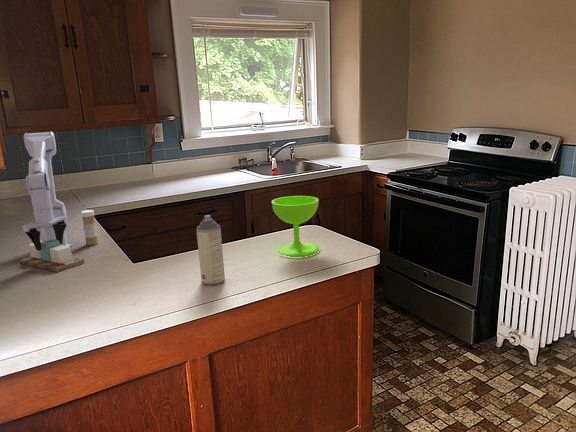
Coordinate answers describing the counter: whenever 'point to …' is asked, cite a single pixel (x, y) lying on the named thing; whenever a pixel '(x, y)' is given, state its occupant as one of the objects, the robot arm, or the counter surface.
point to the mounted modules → (54, 253)
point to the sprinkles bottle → (89, 227)
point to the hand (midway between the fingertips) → (49, 246)
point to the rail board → (50, 264)
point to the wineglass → (296, 222)
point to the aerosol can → (210, 252)
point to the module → (48, 248)
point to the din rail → (57, 263)
